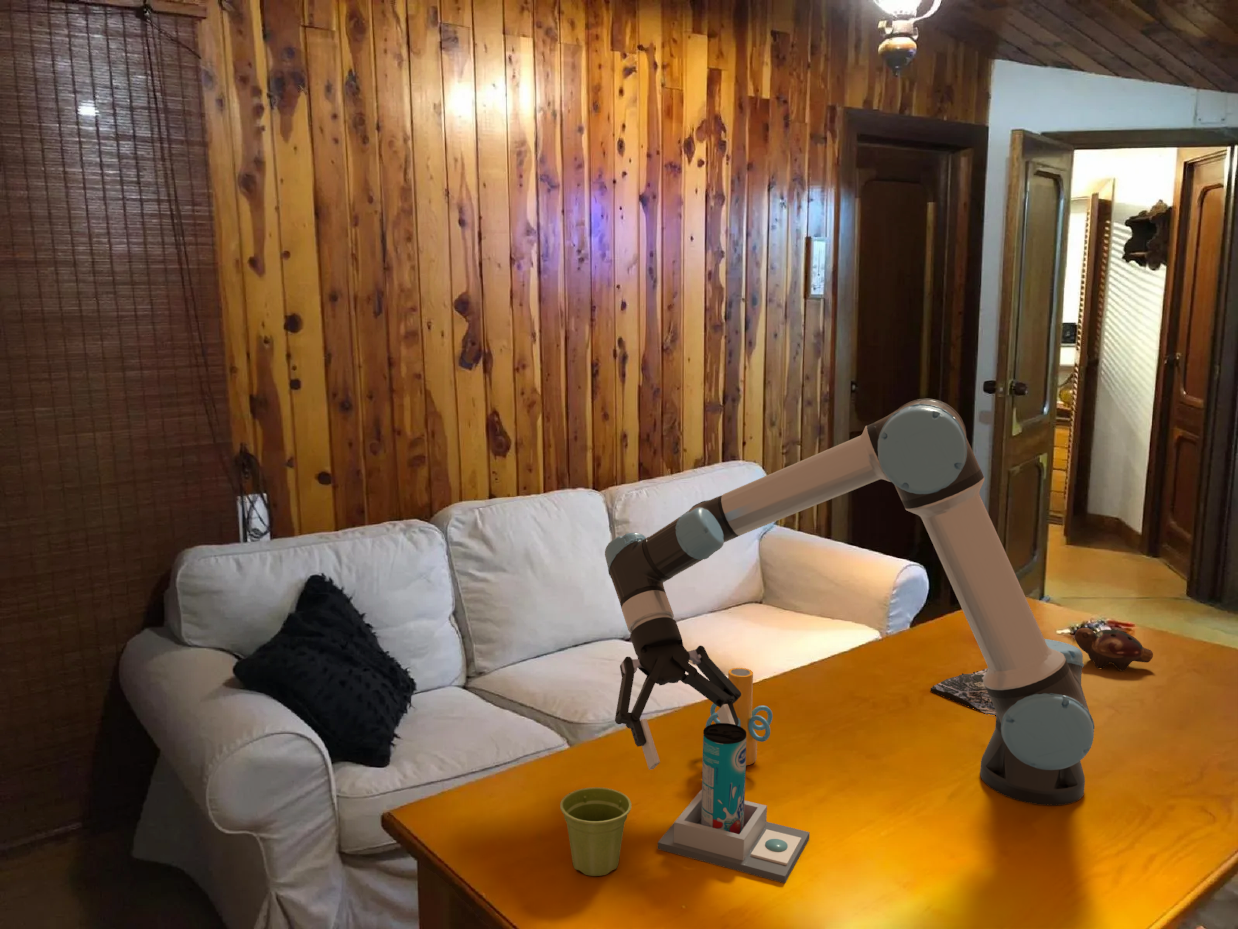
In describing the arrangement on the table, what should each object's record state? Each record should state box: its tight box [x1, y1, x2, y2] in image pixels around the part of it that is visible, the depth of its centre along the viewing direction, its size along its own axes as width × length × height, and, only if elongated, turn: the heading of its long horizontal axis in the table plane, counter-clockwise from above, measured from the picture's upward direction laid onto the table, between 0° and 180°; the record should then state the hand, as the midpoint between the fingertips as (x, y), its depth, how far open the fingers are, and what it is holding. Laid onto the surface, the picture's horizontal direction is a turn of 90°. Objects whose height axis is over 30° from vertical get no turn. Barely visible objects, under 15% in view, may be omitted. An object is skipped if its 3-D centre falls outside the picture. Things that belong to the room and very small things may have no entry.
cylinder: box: [705, 667, 773, 767], centre depth 160 cm, size 12×10×15 cm
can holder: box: [657, 789, 810, 884], centre depth 135 cm, size 18×12×4 cm, turn 64°
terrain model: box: [930, 667, 996, 715], centre depth 189 cm, size 20×15×3 cm
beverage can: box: [701, 723, 747, 834], centre depth 135 cm, size 6×6×15 cm
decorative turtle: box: [1074, 627, 1154, 672], centre depth 204 cm, size 10×15×8 cm, turn 82°
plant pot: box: [559, 786, 632, 877], centre depth 129 cm, size 9×9×9 cm
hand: (696, 757), depth 141 cm, fingers open, 13 cm apart
